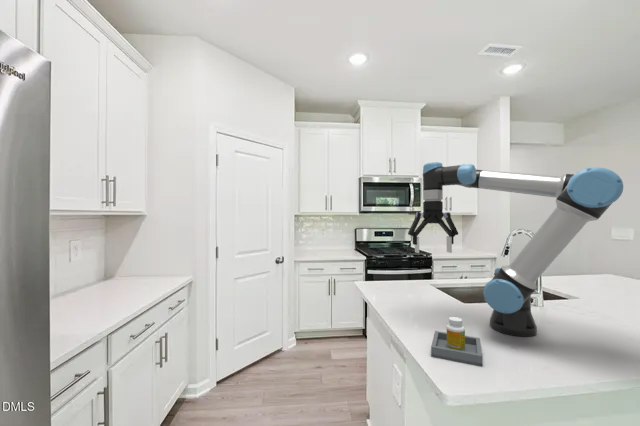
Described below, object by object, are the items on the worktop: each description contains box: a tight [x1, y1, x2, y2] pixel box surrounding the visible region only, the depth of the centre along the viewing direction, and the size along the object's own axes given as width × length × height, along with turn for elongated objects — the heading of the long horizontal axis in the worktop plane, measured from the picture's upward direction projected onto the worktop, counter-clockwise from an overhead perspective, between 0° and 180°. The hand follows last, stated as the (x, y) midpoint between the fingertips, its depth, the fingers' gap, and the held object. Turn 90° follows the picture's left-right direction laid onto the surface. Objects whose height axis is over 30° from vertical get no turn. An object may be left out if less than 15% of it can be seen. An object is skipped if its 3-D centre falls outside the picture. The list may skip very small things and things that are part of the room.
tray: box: [430, 330, 483, 367], centre depth 95 cm, size 14×14×3 cm
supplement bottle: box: [446, 316, 466, 351], centre depth 95 cm, size 5×5×10 cm
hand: (433, 252), depth 120 cm, fingers open, 13 cm apart
